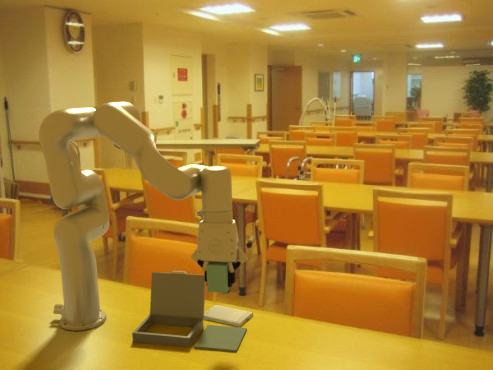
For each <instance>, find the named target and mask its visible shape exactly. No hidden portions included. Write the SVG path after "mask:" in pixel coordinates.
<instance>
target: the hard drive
mask: <svg viewBox="0 0 493 370" xmlns="http://www.w3.org/2000/svg"><path fill="white" fill-rule="evenodd" d="M253 316H254V312H251V311H248V310H242V309H239V308H233V307H228V306H224V305H218V304H215V305H213V306H211V308H209V309H208V310H206V311H204V318H203V320H207V321H211V322H217V323H221V324H224V325H225V324H226V325H229V326H233V327H240V328H241V326H242V325H244V324H246V323H247V321H248V320H249V319H251V318H252V317H253Z"/></svg>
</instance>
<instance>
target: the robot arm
mask: <svg viewBox="0 0 493 370" xmlns="http://www.w3.org/2000/svg"><path fill="white" fill-rule="evenodd" d="M97 137H105V138H106V139H108V140H109V141H111V142H112V143H113V144H114V145H115V146H116V147H118V148H119V149H120V150H122V151H123V152H124V153H126V154H127V155H128V156H129V157H130V158H132V159H133V160H134V163H135V165H136V167H137V169H138V171H139V172H140V173H141V176H142V177H143V178H144V180H146V181H147V182H148V183H149V184H150V185H151V186H152V187H154V188H155V189H156V190H157V191H158V192H160V193H161V194H163V195H164V196H166V197H167V198H169V199H172V200H175V201H181V200H185V199H187V198H189V197H191V196H192V195H196V194H198V193H201V210H197V211H196V216H197V217H200V218H201V220H200V221H198V222H199V224H198V227H197V228H198V231H197V242H196V244H197V246H196V247H197V248H196V249H195V250H194V251H193V253H192V254H191V255H190V258H191V259H192V260H193V261H194V262H196V263H197V265H198V266H199V267H201V269H202V271H203V272H204V273H203V275H205V284H207V267H206V265H207V264H208V263H209V262H227V264H228V268H229V272H228V287H230V288H232V286H233V285H234V284H235V283H236V270H237V269H238V268H239V267H240V266H241V265H242V264H244V263H246V262H247V261H248V258H249V257H248V255H247V254H246V253H245V252H244V251H243V249H242V248H241V247H240V239H239V232H238V228H237V223H236V220H235V219H234V218H233V216H234V215H233V214H234V213H233V188H232V186H233V184H232V171H231V169H230V168H229V167H227V166H224V165H223V166H222V165H211V166H207V165H202V164H201V165H200V164H195V163H194V164H193V163H190V164H186V165H183V166H179V167H176V166H175V165H174V164H173V163H171V162H170V161H168V160H167V159H166V158H165V157H164V156H163V155H162V154H161V152H159V150H158V147H157V141H158V140H157V135H156V133H155V131H153V130H151V129H150V128H149V127H147V126H146V125H145V124H143V123H142V122H141V114H140V111H139V110H138V108H137V107H136V106H135V105H134V104H132V103H131V102H128V101H111V102H110V101H109V102H104V103H102V104H100V105H95V106H86V107H85V106H84V107H83V106H82V107H69V108H68V107H66V108H61V109H60V108H59V109H57V110H54V111H53V112H52V111H51V112H50V113H48V114H47V115H46V116H45V117H44V119H43V120H42V121H41V124H40V126H39V129H38V139H39V144H40V147H41V151H42V153H43V157H44V160H45V161H44V162H45V167H46V173H47V177H48V184H49V188H50V192H51V197H52V201H53V202H54V204H55V206H57V207H58V208H60V209H62V210H69V209H74V208H77V210H74V211H73V212H70V213H68V214H66V215H63V216H62V217H61V218H59V219H58V221H57V222H56V223H55V225H54V228H53V239H54V242H55V245H56V248H57V252H58V257H59V258H58V260H59V266H60V267H59V268H60V273H61V274H60V275H61V286H62V294H63V295H62V297H63V304H60V303H56V304H55V305H54V306H53V314H54V315H60V316H61V317H60V319H59V326H60V327H61V328H62V329H64V330H67V331H73V332H75V331H76V332H77V331H86V330H90V329H93V328H96V327H99V326H100V325H101V324H103V323H104V322H106V319H107V313H106V312H105V311H104V310H103V309H101V305H100V291H99V279H98V268H97V259H96V253H94V251H93V249H92V246H91V242H93V241H95V240H97V239H99V238H101V237H102V236H104V235H105V234H106V233H107V231H108V230H109V227H110V222H111V221H110V213H109V207H108V202H107V196H106V190H105V186H104V185H105V184H104V182H103V180H102V178H101V177H100V176H99V175H98V173H96V172H95V171H94V170H91V169H87V168H85V169H84V168H83V169H81V166H80V158H79V156H78V153H77V151H76V149H75V148H74V146H73V145H72V142H73V141H79V140H86V139H91V138H97ZM238 257H239V259H238Z"/></svg>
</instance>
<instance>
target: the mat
mask: <svg viewBox="0 0 493 370" xmlns="http://www.w3.org/2000/svg"><path fill="white" fill-rule="evenodd" d="M247 331H248V329H247V327H241V326H240V327H238V326H226V325H215V324H207V325H206V327H205V329H204V330H203V331H202V333H201V334H200V336H199V338H198V339H197V341H196V343H195V344H194V345H193V348H194V349H201V350H202V349H203V350H214V351H224V352H233V353H234V352H235V353H237V352H238V350H239V347H240V346H241V343H242V341H243V339H244V337H245V334H246V333H247Z"/></svg>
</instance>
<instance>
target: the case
mask: <svg viewBox="0 0 493 370" xmlns="http://www.w3.org/2000/svg"><path fill="white" fill-rule="evenodd" d="M153 324H154V325H164V326H165V325H167V326H178V327H187V328H188V327H189V328H192V329H191V331H190V332H189V333H188V335H176V334H165V333H154V332H146V331H147V330H148V329H149V327H151V326H152V325H153ZM203 328H204V319H203V318H197V317H184V316H172V315H159V314H150V313H149V314H148V315H147V316H146V317H145V319H144V320H142V322H141V323H140V324H139V325H138V326H137V327H136V328H135V329H134V330H133V331H132V333H131V334H132V335H131V336H132V343H141V344H154V345H163V346H175V347H184V348H191V346H192V345H193V344H194V342H195V340H196V339H197V337H198V336H199V334H200V333H201V331H202V330H203Z"/></svg>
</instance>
